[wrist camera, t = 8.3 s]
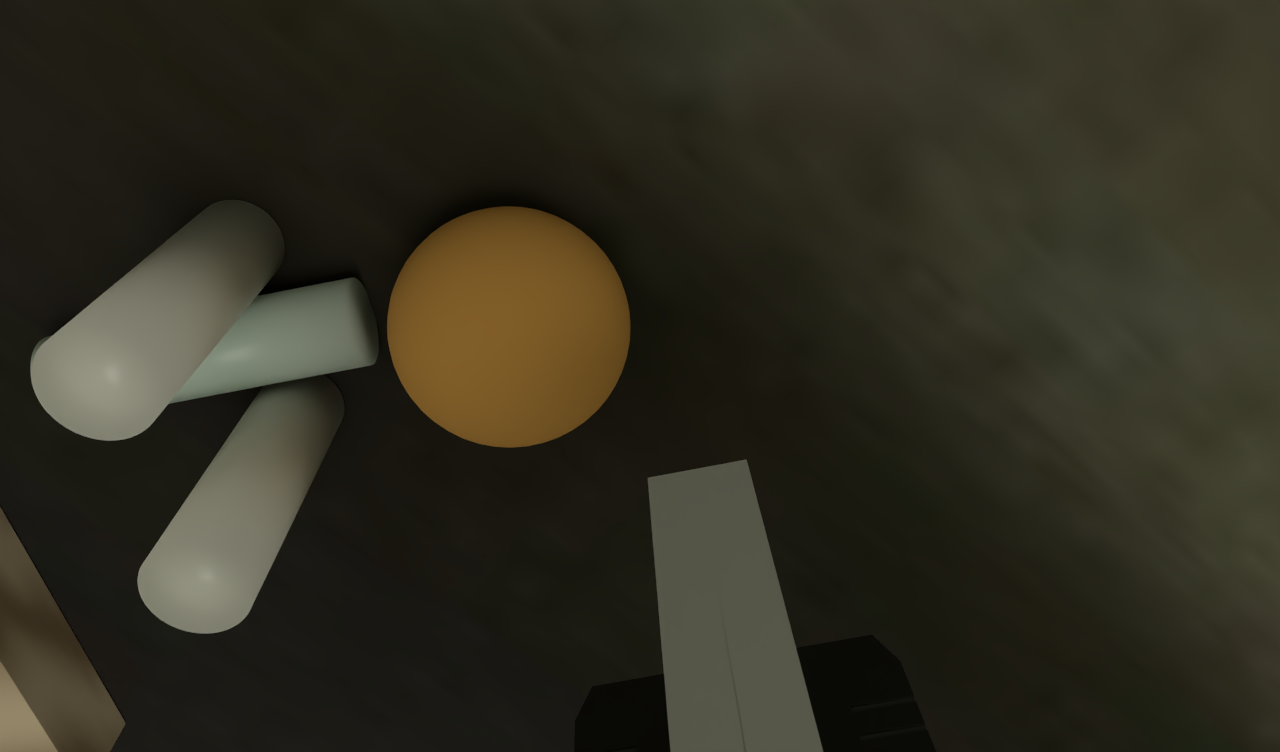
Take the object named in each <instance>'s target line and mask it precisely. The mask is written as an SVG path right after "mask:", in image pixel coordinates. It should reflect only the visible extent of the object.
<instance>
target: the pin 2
mask: <svg viewBox="0 0 1280 752" xmlns="http://www.w3.org/2000/svg"><path fill="white" fill-rule="evenodd" d="M344 411H345V405H344V400H343V396H342V394H341V392H340V390H339V389H338V387H337V386H336V385H335V383H334V382H333V381H332V380H330V379H329V378H328V377H327V376H325V375H324V374H323V375H317V376H312V377H307V378H302V379H296V380H291V381H286V382H280V383H275V384H270V385H265V386H263V387H262V388H261V390H260V391H259V393H258V394H257V396H256V397H255V399H254V400H253V402H252V403H251V405H250V406H249V407H248V409H247V410H246V412H245V413H244V415H243V416H242V418H241V419H240V421H239V422H238V424H237V425H236V427H235V428H234V430H233V431H232V433H231V434H230V436H229V437H228V438H227V440H226V441H225V443H224V444H223V446H222V447H221V449H220V450H219V452H218V453H217V455H216V456H215V458H214V459H213V461H212V462H211V464H210V465H209V467H208V468H207V470H206V471H205V472H204V474H203V475H202V477H201V478H200V480H199V481H198V483H197V484H196V486H195V487H194V489H193V490H192V492H191V493H190V495H189V496H188V498H187V499H186V501H185V502H184V503H183V505H182V506H181V508H180V509H179V511H178V512H177V514H176V515H175V517H174V518H173V520H172V521H171V523H170V524H169V526H168V527H167V529H166V530H165V532H164V533H163V534H162V536H161V537H160V539H159V540H158V542H157V543H156V545H155V546H154V548H153V549H152V551H151V552H150V554H149V555H148V557H147V558H146V560H145V561H144V563H143V564H142V566H141V568H140V570H139V574H138V581H137V582H138V589H139V593H140V596H141V598H142V600H143V602H144V603H145V605H146V606H147V607H148V609H149V610H150V611H151V612H152V613H153V614H154V615H155V616H157V617H158V618H159V619H160V620H162V621H164V622H165V623H167V624H169V625H171V626H173V627H175V628H178V629H180V630H184V631H188V632H193V633H217V632H221V631H225V630H227V629H230V628H232V627H234V626H236V625H237V624H239V623H240V622H241V621H242V620H243V619H244V618H245V617H246V616H247V614H248V613H249V611H250V609H251V607H252V605H253V603H254V601H255V599H256V597H257V595H258V593H259V591H260V588H261V586H262V584H263V582H264V580H265V578H266V576H267V574H268V572H269V570H270V568H271V566H272V564H273V562H274V560H275V558H276V555H277V553H278V551H279V549H280V547H281V545H282V543H283V541H284V539H285V537H286V535H287V533H288V531H289V529H290V527H291V525H292V522H293V520H294V518H295V516H296V514H297V512H298V510H299V508H300V506H301V504H302V502H303V500H304V498H305V496H306V494H307V492H308V489H309V487H310V485H311V483H312V481H313V479H314V477H315V475H316V473H317V471H318V469H319V467H320V465H321V463H322V461H323V459H324V456H325V454H326V452H327V450H328V448H329V446H330V444H331V442H332V440H333V438H334V436H335V434H336V432H337V430H338V428H339V426H340V423H341V421H342V419H343V416H344Z"/></svg>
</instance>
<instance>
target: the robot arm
mask: <svg viewBox="0 0 1280 752" xmlns="http://www.w3.org/2000/svg"><path fill="white" fill-rule="evenodd" d="M648 489H649V501H650V513H651V525H652V537H653V549H654V561H655V572H656V584H657V596H658V608H659V620H660V632H661V644H662V656H663V668H664V674H661V675H655V676H649V677H644V678H638V679H632V680H627V681H621V682H615V683H610V684H604V685H598V686H592V688H591V690H590V692H589V694H588V696H587V698H586V700H585V702H584V704H583V706H582V708H581V710H580V712H579V714H578V716H577V718H576V720H575V749H574V752H936V751H935V748H934V745H933V743H932V740H931V738H930V735H929V733H928V730H926V727H925V723H924V720H923V718H922V715H921V713H920V710H919V708H918V705H917V702H915V700H914V695H913V692H912V690H911V687H910V685H909V682H908V680H907V677H906V675H905V672H904V670H903V667H902V665H901V662H900V661H899V660H898V659H897V658H896V657H895V656H894V655H893V654H892V653H891V652H890V651H889V650H888V649H887V648H885V647H884V646H883V645H882V644H881V643H880V642H879V641H878V640H877V639H876V638H875V637H874V636H873V635H868V636H862V637H857V638H851V639H845V640H839V641H834V642H828V643H822V644H817V645H811V646H805V647H800V648H796V646H795V642H794V638H793V635H792V631H791V627H790V623H789V619H788V616H787V612H786V608H785V604H784V600H783V597H782V593H781V589H780V585H779V581H778V578H777V574H776V570H775V566H774V562H773V559H772V555H771V551H770V547H769V543H768V540H767V536H766V532H765V528H764V524H763V521H762V517H761V513H760V509H759V505H758V501H757V498H756V494H755V490H754V486H753V482H752V479H751V475H750V471H749V467H748V463H747V460H741V461H736V462H730V463H725V464H720V465H714V466H709V467H704V468H698V469H693V470H687V471H682V472H677V473H671V474H666V475H660V476H655V477H650V478H648Z"/></svg>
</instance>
